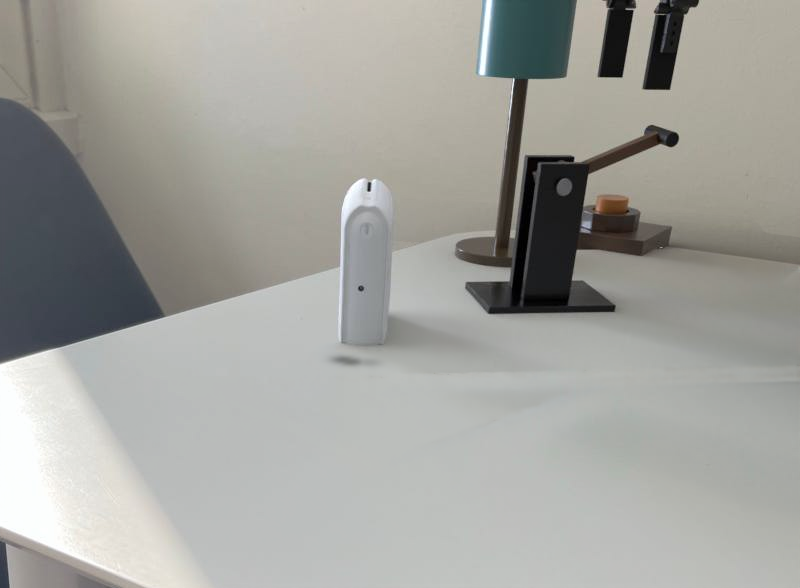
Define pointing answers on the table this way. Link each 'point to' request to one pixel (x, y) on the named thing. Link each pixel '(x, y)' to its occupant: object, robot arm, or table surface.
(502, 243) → the lamp
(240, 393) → the table surface
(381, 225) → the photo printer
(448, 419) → the table surface
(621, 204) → the lamp button
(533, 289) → the switch bracket
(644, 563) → the table surface
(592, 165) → the switch lever
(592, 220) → the block
